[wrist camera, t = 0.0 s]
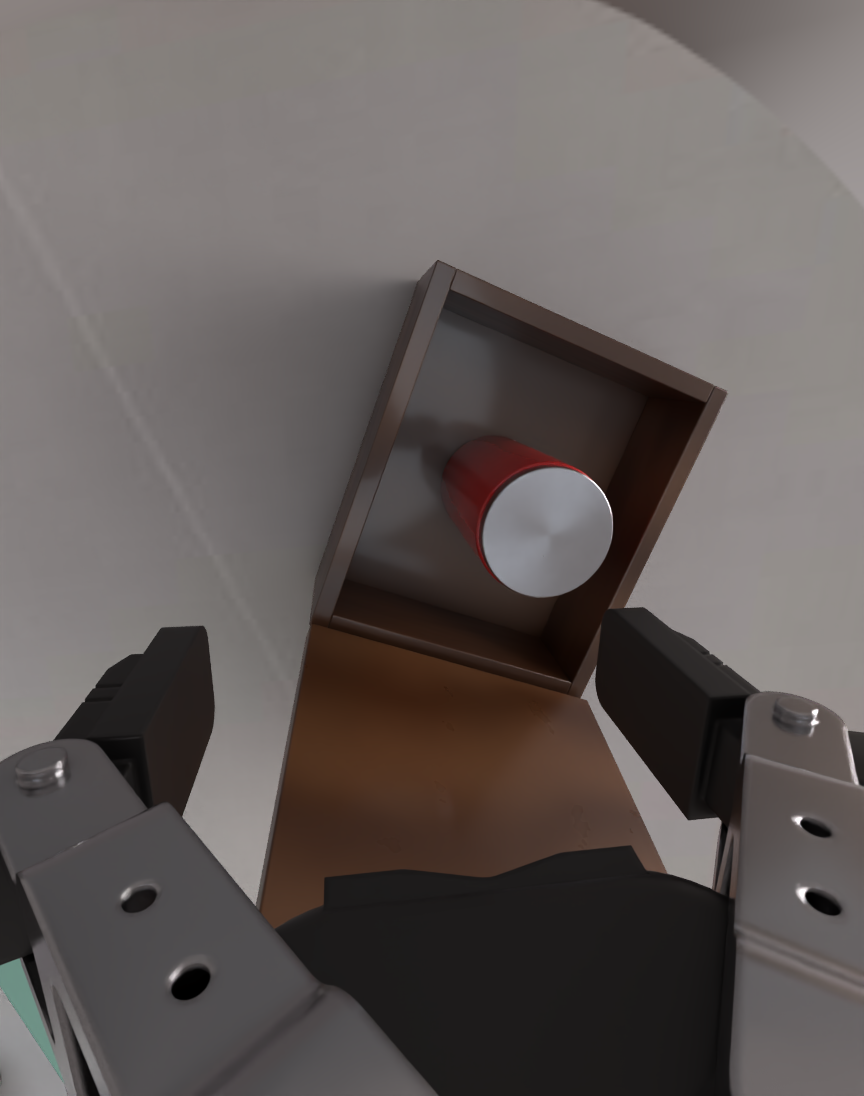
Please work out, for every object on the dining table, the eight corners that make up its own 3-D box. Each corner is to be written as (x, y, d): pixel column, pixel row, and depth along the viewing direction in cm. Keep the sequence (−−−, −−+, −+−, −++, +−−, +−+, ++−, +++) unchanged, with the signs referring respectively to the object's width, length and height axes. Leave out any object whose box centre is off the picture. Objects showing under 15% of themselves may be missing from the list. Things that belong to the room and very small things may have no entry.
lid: (217, 1144, 10) (158, 1255, 12) (811, 1180, 14) (687, 1265, 16) (311, 622, 25) (277, 713, 27) (587, 699, 28) (538, 776, 30)
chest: (418, 280, 27) (437, 259, 22) (660, 386, 31) (730, 391, 25) (314, 579, 31) (308, 625, 26) (541, 647, 34) (580, 700, 29)
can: (441, 435, 29) (482, 464, 20) (543, 435, 30) (623, 463, 21) (439, 536, 31) (476, 603, 22) (536, 534, 31) (608, 598, 23)
